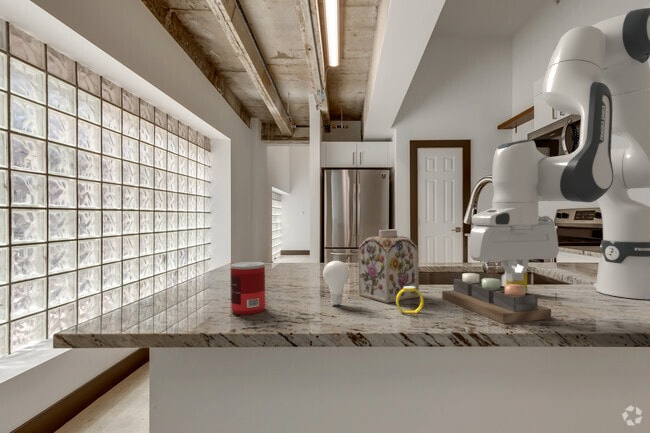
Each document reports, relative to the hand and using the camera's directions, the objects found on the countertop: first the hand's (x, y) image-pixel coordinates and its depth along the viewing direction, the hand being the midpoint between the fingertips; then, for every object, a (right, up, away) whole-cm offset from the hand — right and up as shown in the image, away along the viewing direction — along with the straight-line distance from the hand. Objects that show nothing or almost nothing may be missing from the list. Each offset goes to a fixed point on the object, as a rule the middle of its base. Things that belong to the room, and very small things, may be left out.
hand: (514, 280), depth 81 cm
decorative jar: (-24, -8, +20) cm, 32 cm away
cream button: (-4, -4, +15) cm, 16 cm away
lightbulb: (-38, -8, +11) cm, 40 cm away
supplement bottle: (+11, -7, +21) cm, 25 cm away
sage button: (-2, -4, +7) cm, 9 cm away
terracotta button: (0, -4, 0) cm, 4 cm away
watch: (-22, -8, +4) cm, 23 cm away
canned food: (-59, -9, +8) cm, 60 cm away
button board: (-2, -8, +7) cm, 11 cm away
